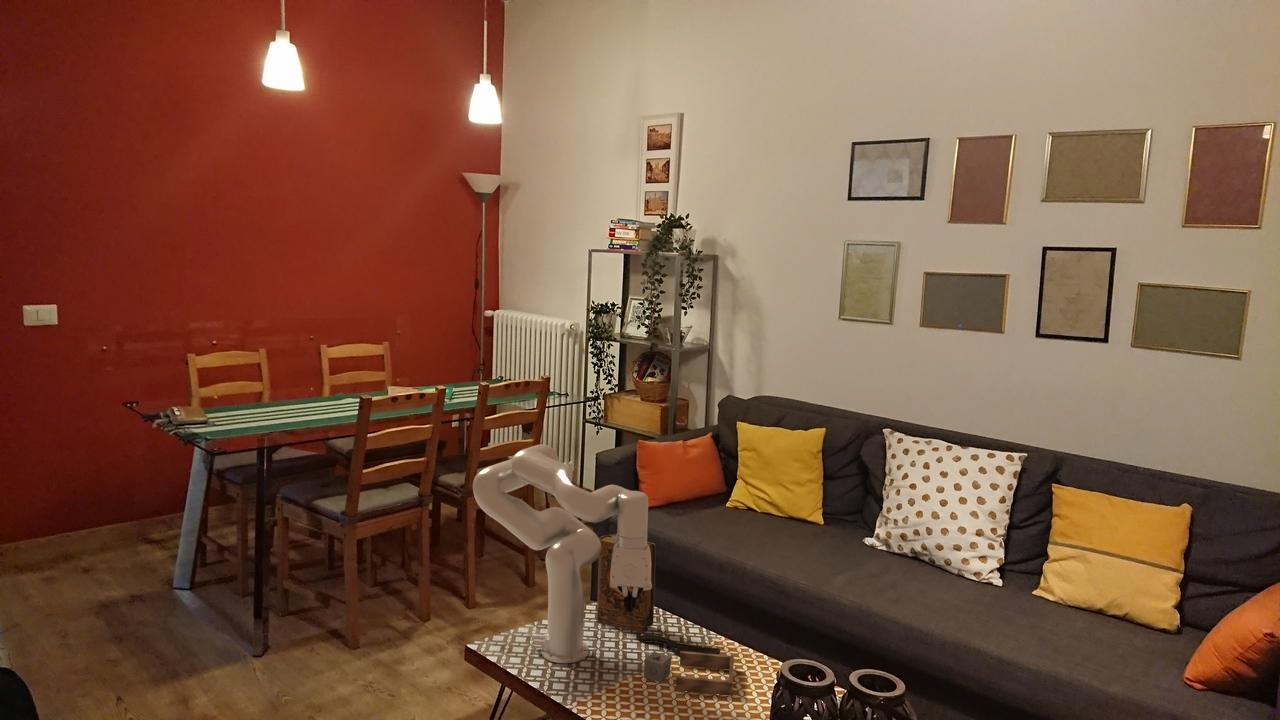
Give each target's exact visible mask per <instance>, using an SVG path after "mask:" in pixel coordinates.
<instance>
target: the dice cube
mask: <svg viewBox="0 0 1280 720" xmlns="http://www.w3.org/2000/svg"><path fill="white" fill-rule="evenodd" d="M643 665H644V666H643V667H644V668H643V678H644V679H646V680H651V681H654V682H656V683H660V684H662V683H663V682H664V681H665V680H666V679H668V678H669V675H670V676H671V671H672V670H671V668H672V667H671V666H672V656H670V655H667V654H664V653H660V652H656V651H652V653H650V655H649V654H648V656H647V657H646V658H644V663H643Z"/></svg>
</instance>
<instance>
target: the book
mask: <svg viewBox="0 0 1280 720" xmlns="http://www.w3.org/2000/svg"><path fill="white" fill-rule="evenodd" d="M612 535H613V534H604V535H601V536H599V537H598V538H599V540H600V542H601V546H602V550H601V554H600V556H599V558H598V568H597V569H598V570H597V571H598V572H597V573H598V574H597V576H598V577H597V600H596V601H597V602H596V603H597V605H596V606H597V607H596V608H597V609H596V623H597V622H598V624H600V623H601V625H605V624H606V626H610V627H614V628H618V629H622V630H625V631H629V632H630V631H631V632H636V633H641V634H645V632H646V631H647V628H648V627H651V626H652V625H653V624H654V619H655V618H654V617H655V610H654V609H655V590H656V589H655V587H656V556H657V555H656V552H657V546H656V543H654V542H649V541H647V544H648V545H649V548H650V554H651V584H652V588H651V590H645V591H642V592H641V593H639V594H638V595H637V600H636V608H634V609H633V612H630V610H629V611H628V612H626V607H624V596H623V594H622V593H621V591H620V590H619V589H618V588H614V587H611V586H610V572H611V560H612V553H613V548H614V545H615V544H616V543H617V542H616V541H615V540H612ZM633 588H634V587H629V591H630V593H631V594H632V591H633Z"/></svg>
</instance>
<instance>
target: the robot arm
mask: <svg viewBox="0 0 1280 720" xmlns="http://www.w3.org/2000/svg"><path fill="white" fill-rule="evenodd" d="M572 481H573V470H572V468H571V466H569V465H567V464H565V463H563V462H560V461H559V457H558V454H557V452H556V450H555V449H554V448H553V447H551V446H550V445H548V444H544V443H543V444H542V443H541V444H535V445H533V446H530V447H526V448H524V449H521V450H519V451H517V452H516V453H515V454H514V455H513V457H511V459H508V460H505V461H504V460H503V461H501V462H498V463H495V464H493V465H489V466H487V467H485V468H483V469H481V470H480V471H479V472H478V473H477V474H476V475H475V476H474V479H473V481H472V492H473V496H474V498H475V499H474V500H475V501H476V504H477V505H478V506H479V508H480V509H481V510H482V511H483V512H484V513H485V514H486V515H488V516H489V517H490V518H492V519H494V520H495V521H496V522H498V523H499V524H501V526H503V527H504V528H506V529H507V531H509V532H510V533H511V534H512V535H514V536H515V537H516V538H518V539H519V540H520V541H521V542H522V543H523V544H524V545H526V546H527V547H529V548H530V549H532V550H534V551H541V550H543V549H546V548H548V547H549V548H548V550H547V552H546V553H545V554H546V555H545V560H544V561H545V568H546V573H547V581H548V582H547V583H548V584H547V586H548V587H547V589H548V592H547V597H548V598H547V599H548V602H547V604H548V605H547V633H544V634H540V633H532V635H531V641H532V642H533V644H534V645H535V646H536V645H537V646H541V656H542V657H543V658H544V659H545V660H547V661H549V662H552V663H557V664H573V663H577V662H580V661H582V660H583V659H585V658H586V657H587V656H588V654H589V651H590V650H589V646H588V645H587V643H586V642H584V619H585V616H584V615H585V614H584V613H585V585H584V582H583V579H582V576H581V571H582V570H583V569H585V568H586V567H588V566H590V565H591V564H593V563H594V562H596V561H597V560H599V556H600V554H601V550H602V546H601V542H600V540H599V538H600V537H598V535H597V534H596V533H595V532H594V531H593V530H592V529H591V528H590V527H588V526H587V525H585V523H583V521H586V522H589V523H593V524H594V523H600V522H604V521H605V520H606V519H608V518H610V517H613V516H616V515H617V533H616V534H611V535H612V540H615V541H616V542H617V543H616V544H615V545H614V548H613V553H612V560H611V572H610V586H611V587H614V588H618V589H619V590H620V591H621V593H622V594H623V596H624V607H626V612H628V611H629V610H630V612H633V609H634V608H636V600H637V595H638V594H639V593H641V592H642V591H645V590H651V588H652V584H651V554H650V548H649V545H648V544H647V542H648V524H649V523H648V521H649V520H648V519H649V515H648V514H649V497H648V494H646V493H645V492H642V491H639V490H630V489H627V488H624V487H622V486H619V485H616V484H609V485H605V486H603V487H600V488H598V489H596V490H594V491H592V492H590V491H587V490H586V489H583V488H581V487H579V486H577V485H576V484H574V483H573V482H572ZM527 485H531V486H533V487H536V488H537V489H539V490H542V491H544V492H545V493H546V492H547V493H548V494H550V495H552V496H554V497H555V500H556V501H557V502H558V504H559V505H560V507H557V506H553V507H549V508H546V509H543V510H540V511H539V510H536V509H534V508H533V507H531V506H530V505H529V504H528V503H526V502H525V500H522V499H520V498H518V497H515V496H513V495H511V494H508V493H510V492H512V491H515V490H519V489H520V488H523V487H524V486H527ZM578 518H579V519H580V520H583V521H580V520H579V519H578ZM629 587H634V588H633V591H632V594H631V593H630V591H629Z"/></svg>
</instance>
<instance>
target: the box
mask: <svg viewBox="0 0 1280 720" xmlns="http://www.w3.org/2000/svg"><path fill="white" fill-rule="evenodd" d="M734 659H735V656H734V655H729V654H727V655H726V654H719V655H718V654H707V653H696V652H686V651H681V650H680V657H679V666H681V665H682V667H683V666H684V667H691V666H692V668H693V667H694V668H704V669H714V670H723V669H729V670H728V671H729V673H728V680H725V679H717V678H716V679H715V678H714V679H713V678H705V677H695V676H685V675H684V676H683V675H676V677H675V692H681V691H687V692H686V693H692V692H693V693H694V694H703V695H704V694H705V695H712V694H719V695H718V696H722V695H731V696H730V697H733V691H734V690H733V689H734V669H735V668H734V665H735V664H734V663H735V660H734Z"/></svg>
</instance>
